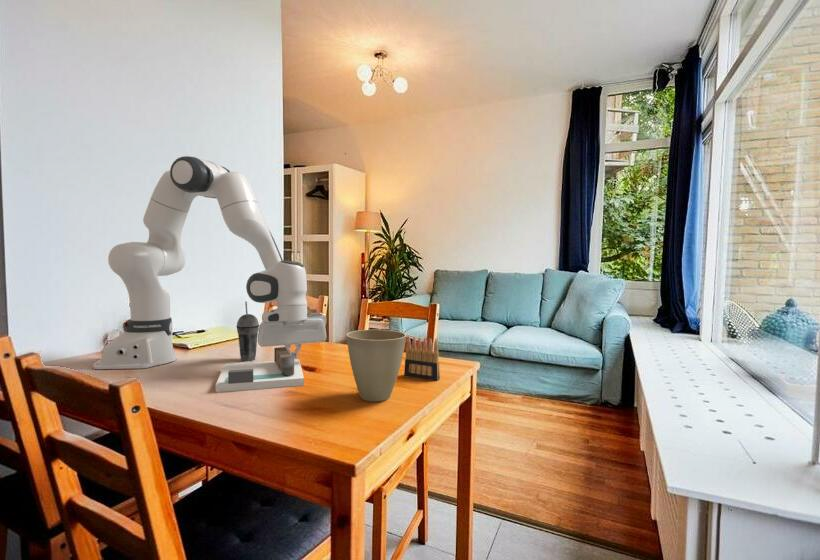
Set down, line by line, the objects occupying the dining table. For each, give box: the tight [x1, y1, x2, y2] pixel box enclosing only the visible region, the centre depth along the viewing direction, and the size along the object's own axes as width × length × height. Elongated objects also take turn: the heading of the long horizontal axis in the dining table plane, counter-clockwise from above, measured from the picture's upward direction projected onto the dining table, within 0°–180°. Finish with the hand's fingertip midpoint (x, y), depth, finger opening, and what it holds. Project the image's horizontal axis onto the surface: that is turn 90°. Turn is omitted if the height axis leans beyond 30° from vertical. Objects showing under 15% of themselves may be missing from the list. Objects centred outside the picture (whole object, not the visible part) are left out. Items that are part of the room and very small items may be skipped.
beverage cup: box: [236, 301, 260, 362], centre depth 141 cm, size 7×7×20 cm
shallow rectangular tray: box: [215, 358, 305, 393], centre depth 121 cm, size 22×22×5 cm
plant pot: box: [346, 329, 407, 403], centre depth 105 cm, size 15×15×16 cm
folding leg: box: [273, 346, 295, 376], centre depth 123 cm, size 18×3×5 cm, turn 25°
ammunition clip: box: [403, 335, 441, 382], centre depth 123 cm, size 11×2×12 cm, turn 64°
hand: (293, 358), depth 129 cm, fingers closed
